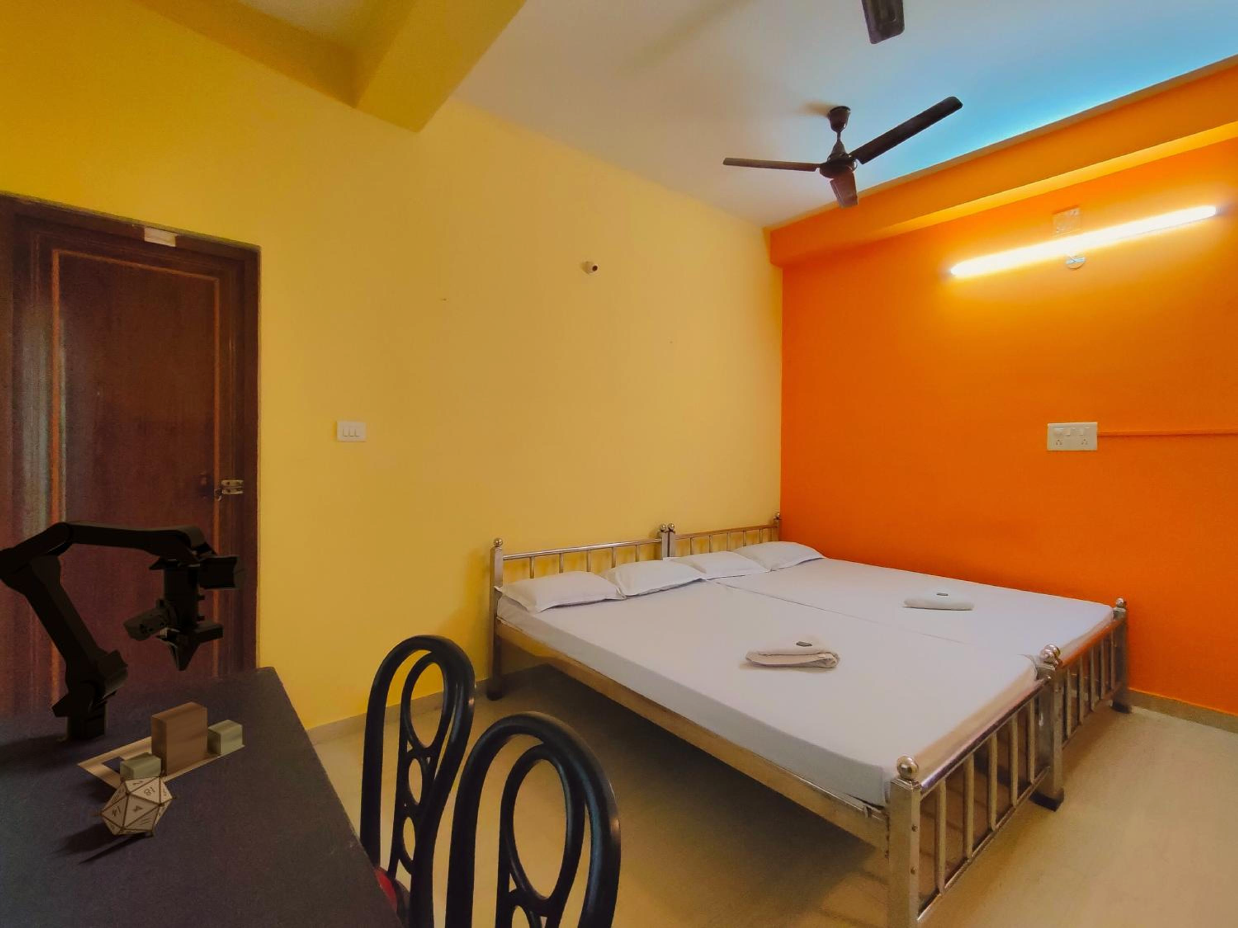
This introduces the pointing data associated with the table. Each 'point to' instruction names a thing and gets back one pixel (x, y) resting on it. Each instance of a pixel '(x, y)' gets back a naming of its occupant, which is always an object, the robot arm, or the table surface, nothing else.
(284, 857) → the table surface
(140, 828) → the game die
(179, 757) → the walnut block
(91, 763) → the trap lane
